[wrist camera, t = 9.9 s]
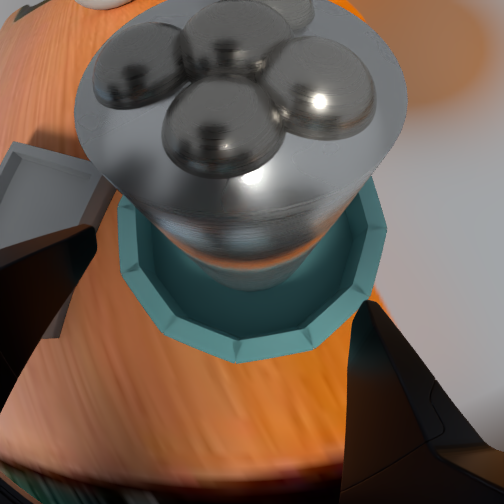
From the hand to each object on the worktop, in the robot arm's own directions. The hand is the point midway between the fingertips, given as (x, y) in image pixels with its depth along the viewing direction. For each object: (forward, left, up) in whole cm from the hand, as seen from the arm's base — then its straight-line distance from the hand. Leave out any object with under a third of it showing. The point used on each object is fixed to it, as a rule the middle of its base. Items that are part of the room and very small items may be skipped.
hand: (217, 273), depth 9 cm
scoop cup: (+3, 0, -7) cm, 8 cm away
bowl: (+3, 0, -8) cm, 9 cm away
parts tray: (-2, +15, -8) cm, 17 cm away
